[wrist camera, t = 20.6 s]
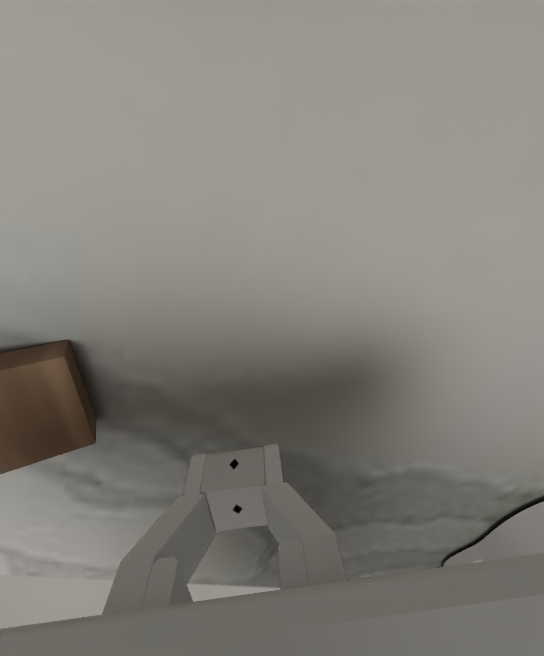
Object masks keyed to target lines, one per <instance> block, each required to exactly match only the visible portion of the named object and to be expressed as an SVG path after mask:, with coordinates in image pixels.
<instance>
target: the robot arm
mask: <svg viewBox="0 0 544 656" xmlns="http://www.w3.org/2000/svg"><path fill="white" fill-rule="evenodd" d="M267 525H268V528H269V529H270V531H271V533H272V534H273V536H274V537H275V539H276V540H277V542H278V543H279V546H278V555H279V570H280V586H281V590H276V591H268V592H261V593H254V594H247V595H240V596H233V597H227V598H218V599H211V600H205V601H197V602H193V600H192V598H191V595H190V592H189V590H188V587H187V583H188V581H189V580H190V578H191V576H192V574H193V573H194V571H195V569H196V568H197V566H198V564H199V562H200V561H201V559H202V557H203V556H204V554H205V552H206V550H207V549H208V547H209V545H210V543H211V542H212V540H213V538H214V537H215V535H216V533H215V532H221V531H227V530H233V529H239V528H248V527H257V526H267ZM0 656H544V501H543V502H541V503H538V504H536V505H534V506H531V507H529V508H527V509H525V510H523V511H521V512H520V513H518V514H516V515H514V516H513V517H511V518H510V519H508V520H507V521H505V522H504V523H502V524H501V525H500V526H498V527H497V528H496V529H495V530H493V531H492V532H491V533H490V534H489V535H487V536H486V537H485V538H484V539H483V540H481V541H480V542H479V543H477V544H476V545H474V546H472V547H469V548H467V549H465V550H463V551H461V552H459V553H457V554H456V555H454V556H452V557H451V558H449V559H448V560H447V561H446V562H445V563H444V565H443V567H441V568H434V569H426V570H419V571H412V572H405V573H398V574H390V575H383V576H376V577H369V578H362V579H354V580H347V579H346V575H345V571H344V567H343V563H342V559H341V555H340V551H339V547H338V543H337V539H336V535H335V533H334V532H333V531H332V530H331V529H330V528H329V526H328V525H327V524H326V523H325V522H324V521H323V520H322V519H321V518H320V517H319V516H318V515H317V514H316V513H315V511H314V510H313V509H312V508H311V507H310V506H309V505H308V504H307V503H306V502H305V501H304V500H303V499H302V498H301V496H300V495H299V494H298V493H297V492H296V491H295V490H294V489H293V488H292V487H291V486H290V485H289V484H288V483H287V482H285V483H283V476H282V468H281V460H280V452H279V445H278V443H277V444H270V445H263V446H256V447H249V448H242V449H236V450H227V451H218V452H208V453H202V454H193V456H192V457H191V460H190V465H189V469H188V474H187V478H186V483H185V487H184V492H183V496H180V497H177V499H176V500H175V501H174V502H173V503H172V504H171V505H170V507H169V508H168V509H167V510H166V511H165V512H164V513H163V514H162V516H161V517H160V518H159V519H158V520H157V521H156V522H155V524H154V525H153V526H152V527H151V528H150V529H149V530H148V531H147V533H146V534H145V535H144V536H143V537H142V538H141V539H140V541H139V542H138V543H137V544H136V545H135V546H134V547H133V548H132V550H131V551H130V552H129V553H128V554H127V555H126V556H125V557H124V559H123V560H122V561H121V562H120V565H119V568H118V571H117V573H116V576H115V579H114V582H113V585H112V588H111V590H110V593H109V596H108V599H107V602H106V605H105V607H104V610H103V613H102V615H96V616H89V617H82V618H75V619H67V620H61V621H53V622H46V623H38V624H31V625H24V626H17V627H10V628H2V629H0Z"/></svg>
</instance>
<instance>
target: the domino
mask: <svg viewBox="0 0 544 656" xmlns="http://www.w3.org/2000/svg"><path fill="white" fill-rule="evenodd" d="M94 443H96V417H95V415H94V412H93V409H92V406H91V403H90V400H89V397H88V394H87V392H86V389H85V386H84V383H83V380H82V377H81V374H80V371H79V368H78V366H77V363H76V360H75V357H74V354H73V351H72V348H71V345H70V342H69V340H64V341H59V342H54V343H50V344H45V345H40V346H35V347H30V348H25V349H20V350H15V351H10V352H5V353H0V474H2V473H5V472H8V471H12V470H15V469H18V468H21V467H24V466H27V465H30V464H33V463H36V462H39V461H42V460H45V459H48V458H51V457H54V456H57V455H61V454H64V453H67V452H70V451H73V450H76V449H79V448H82V447H85V446H88V445H91V444H94Z"/></svg>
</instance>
